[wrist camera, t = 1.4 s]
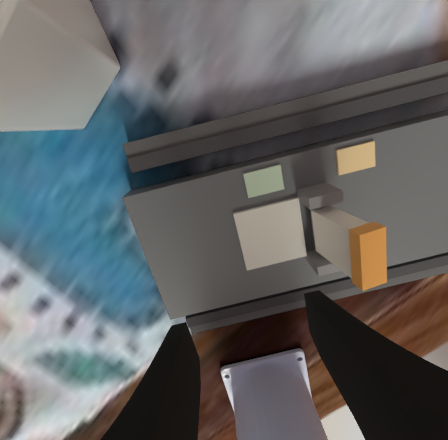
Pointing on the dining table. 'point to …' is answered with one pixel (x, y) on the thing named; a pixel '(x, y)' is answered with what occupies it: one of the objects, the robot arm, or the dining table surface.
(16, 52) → the jar
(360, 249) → the breaker lever
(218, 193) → the toggle switch panel
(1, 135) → the dining table surface
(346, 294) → the thin grey bar
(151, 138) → the long dark grey rail
